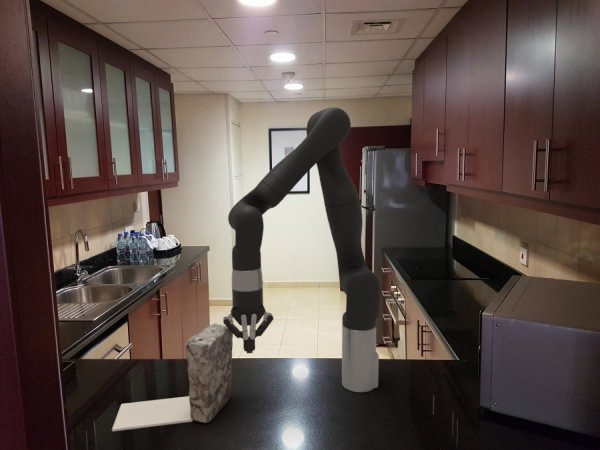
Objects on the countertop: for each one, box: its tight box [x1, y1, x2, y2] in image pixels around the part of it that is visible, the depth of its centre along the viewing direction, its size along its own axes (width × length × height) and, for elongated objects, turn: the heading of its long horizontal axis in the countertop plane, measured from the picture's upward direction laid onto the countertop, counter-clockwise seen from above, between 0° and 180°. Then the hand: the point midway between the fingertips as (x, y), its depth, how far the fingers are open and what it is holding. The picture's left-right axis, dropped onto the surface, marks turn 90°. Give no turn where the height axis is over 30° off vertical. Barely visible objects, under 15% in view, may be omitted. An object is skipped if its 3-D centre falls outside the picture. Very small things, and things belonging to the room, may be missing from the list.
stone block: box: [185, 322, 234, 424], centre depth 106 cm, size 13×7×20 cm, turn 167°
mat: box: [111, 395, 194, 432], centre depth 106 cm, size 18×11×1 cm, turn 102°
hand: (249, 351), depth 108 cm, fingers closed
